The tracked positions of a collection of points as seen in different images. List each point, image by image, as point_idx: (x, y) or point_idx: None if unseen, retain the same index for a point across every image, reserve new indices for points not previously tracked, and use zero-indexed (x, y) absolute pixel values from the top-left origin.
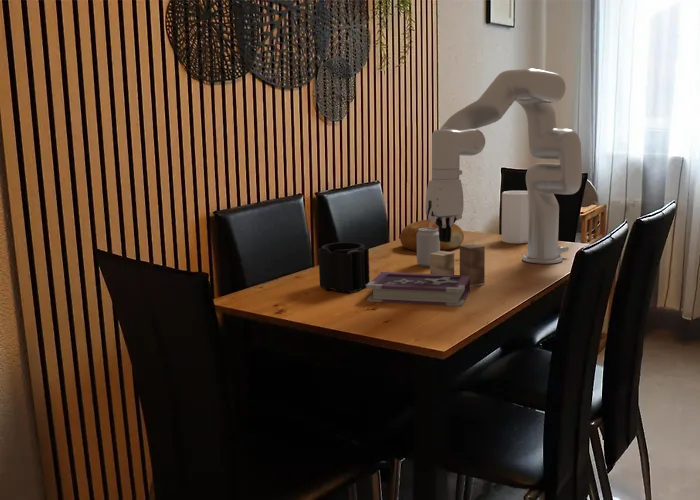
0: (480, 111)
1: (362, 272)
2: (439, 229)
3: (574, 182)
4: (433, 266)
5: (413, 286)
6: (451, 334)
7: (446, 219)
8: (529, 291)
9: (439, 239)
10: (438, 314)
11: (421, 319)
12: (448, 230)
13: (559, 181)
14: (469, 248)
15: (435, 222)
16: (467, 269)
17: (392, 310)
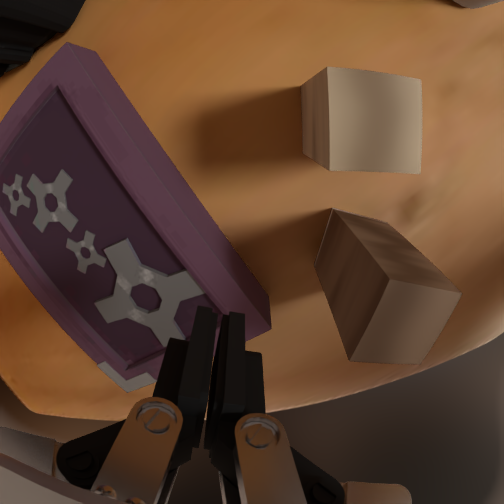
0: None
1: (10, 40)
2: (154, 396)
3: None
4: (312, 98)
5: (37, 290)
6: (54, 403)
7: (253, 490)
8: (355, 382)
9: (197, 310)
10: (71, 354)
11: (37, 347)
12: (205, 436)
13: None
14: (351, 354)
15: (82, 444)
16: (332, 279)
17: (10, 273)
